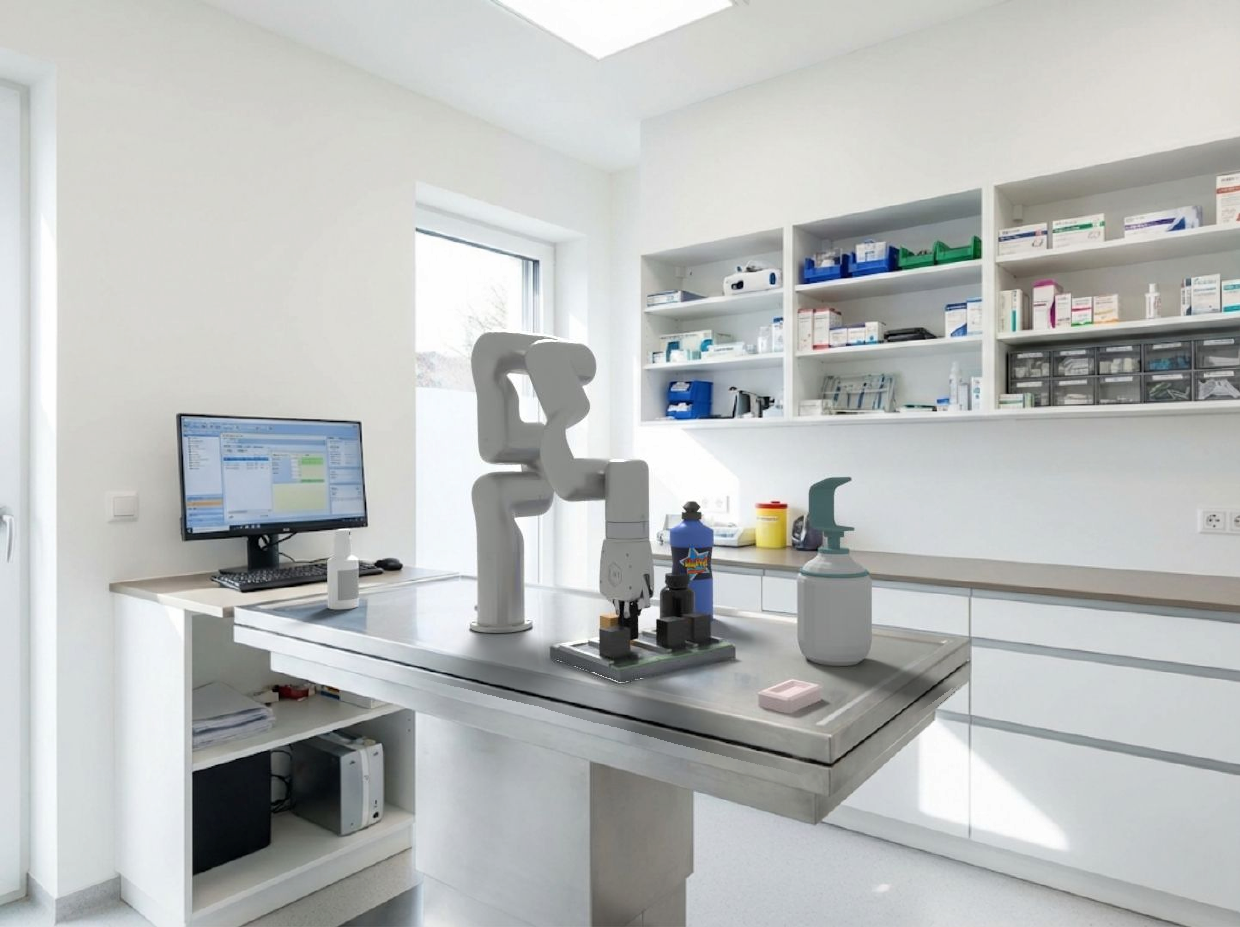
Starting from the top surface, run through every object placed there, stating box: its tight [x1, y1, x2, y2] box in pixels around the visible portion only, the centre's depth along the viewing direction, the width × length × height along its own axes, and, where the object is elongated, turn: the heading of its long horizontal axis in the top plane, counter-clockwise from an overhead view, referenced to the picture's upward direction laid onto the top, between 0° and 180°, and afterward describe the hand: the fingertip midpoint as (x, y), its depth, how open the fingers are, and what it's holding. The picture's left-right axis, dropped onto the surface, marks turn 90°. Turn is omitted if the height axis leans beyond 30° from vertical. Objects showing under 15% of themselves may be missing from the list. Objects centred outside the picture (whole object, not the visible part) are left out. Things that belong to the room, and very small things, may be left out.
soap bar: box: [757, 678, 823, 714], centre depth 114 cm, size 5×9×2 cm, turn 137°
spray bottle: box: [326, 528, 360, 611], centre depth 186 cm, size 7×7×18 cm
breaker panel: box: [549, 612, 737, 682], centre depth 139 cm, size 20×25×7 cm
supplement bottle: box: [659, 572, 695, 619], centre depth 156 cm, size 7×7×12 cm
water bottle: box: [669, 500, 715, 622], centre depth 171 cm, size 9×9×25 cm
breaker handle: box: [599, 612, 618, 629], centre depth 140 cm, size 3×4×5 cm
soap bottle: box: [796, 476, 873, 667], centre depth 137 cm, size 12×12×31 cm
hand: (628, 639), depth 137 cm, fingers closed
